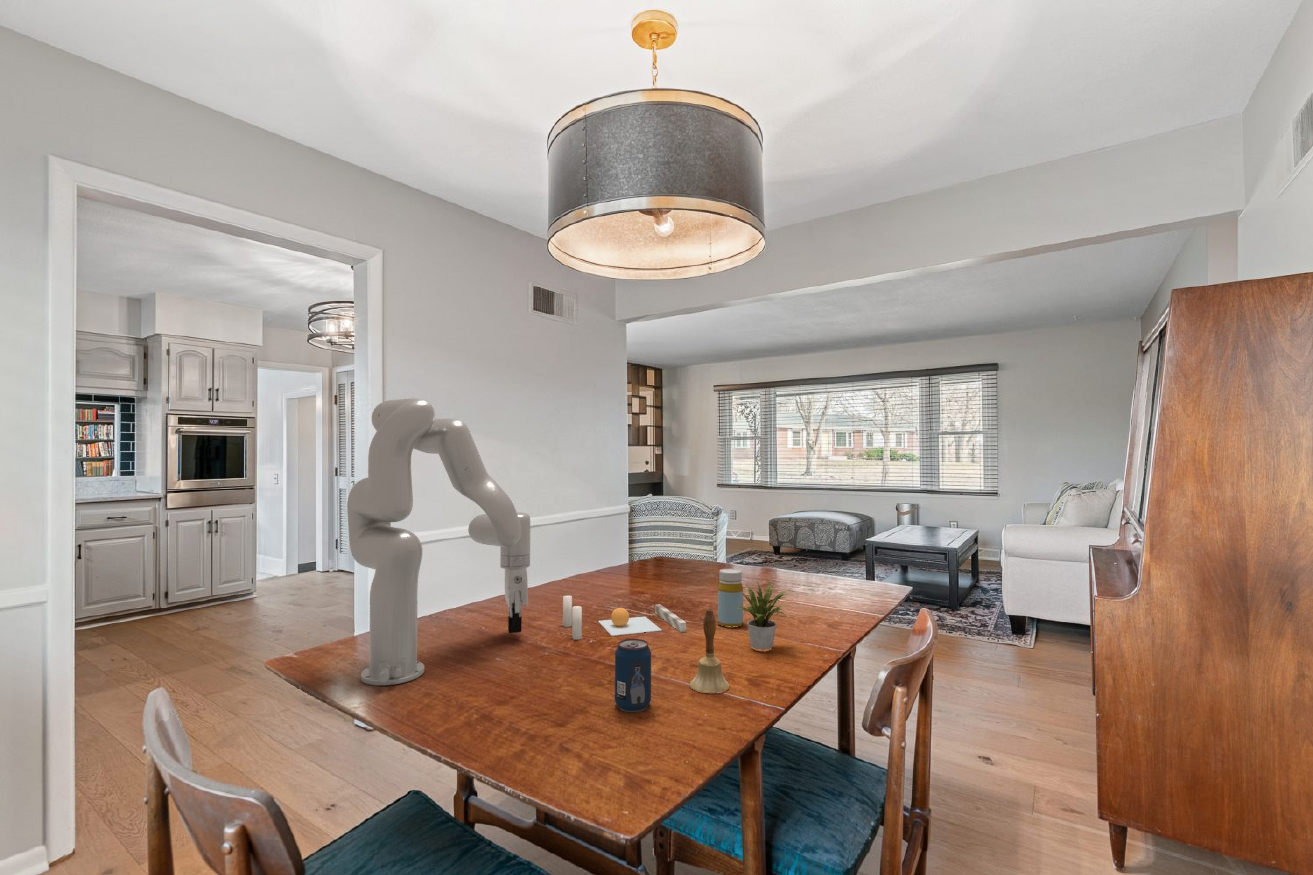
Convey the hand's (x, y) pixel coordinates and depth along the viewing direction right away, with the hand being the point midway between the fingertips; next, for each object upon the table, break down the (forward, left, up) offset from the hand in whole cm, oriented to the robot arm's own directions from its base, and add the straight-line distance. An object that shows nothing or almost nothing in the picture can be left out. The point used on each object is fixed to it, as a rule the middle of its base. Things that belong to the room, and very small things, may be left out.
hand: (514, 631), depth 160 cm
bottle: (-8, -58, -2) cm, 59 cm away
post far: (+6, -15, -2) cm, 16 cm away
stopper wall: (0, -43, -2) cm, 43 cm away
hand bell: (-46, -34, -2) cm, 57 cm away
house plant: (-30, -56, -2) cm, 64 cm away
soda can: (-50, -16, -2) cm, 53 cm away
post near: (-6, -15, -2) cm, 16 cm away
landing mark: (0, -31, -2) cm, 31 cm away
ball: (+1, -29, +1) cm, 29 cm away
